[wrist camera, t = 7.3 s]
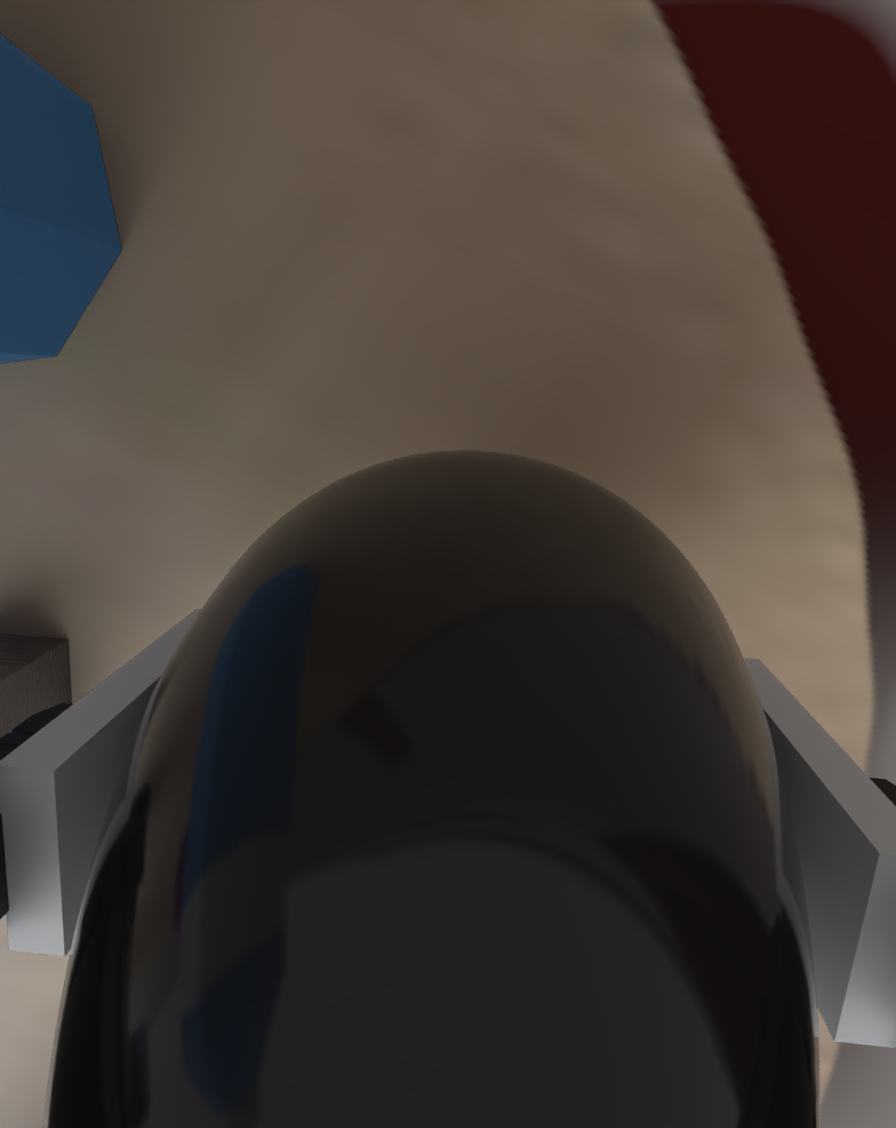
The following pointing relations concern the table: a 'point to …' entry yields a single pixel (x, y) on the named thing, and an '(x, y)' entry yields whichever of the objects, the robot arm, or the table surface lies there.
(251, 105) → the table surface
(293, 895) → the pump dispenser
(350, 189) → the table surface
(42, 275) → the water bottle
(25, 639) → the latch post
